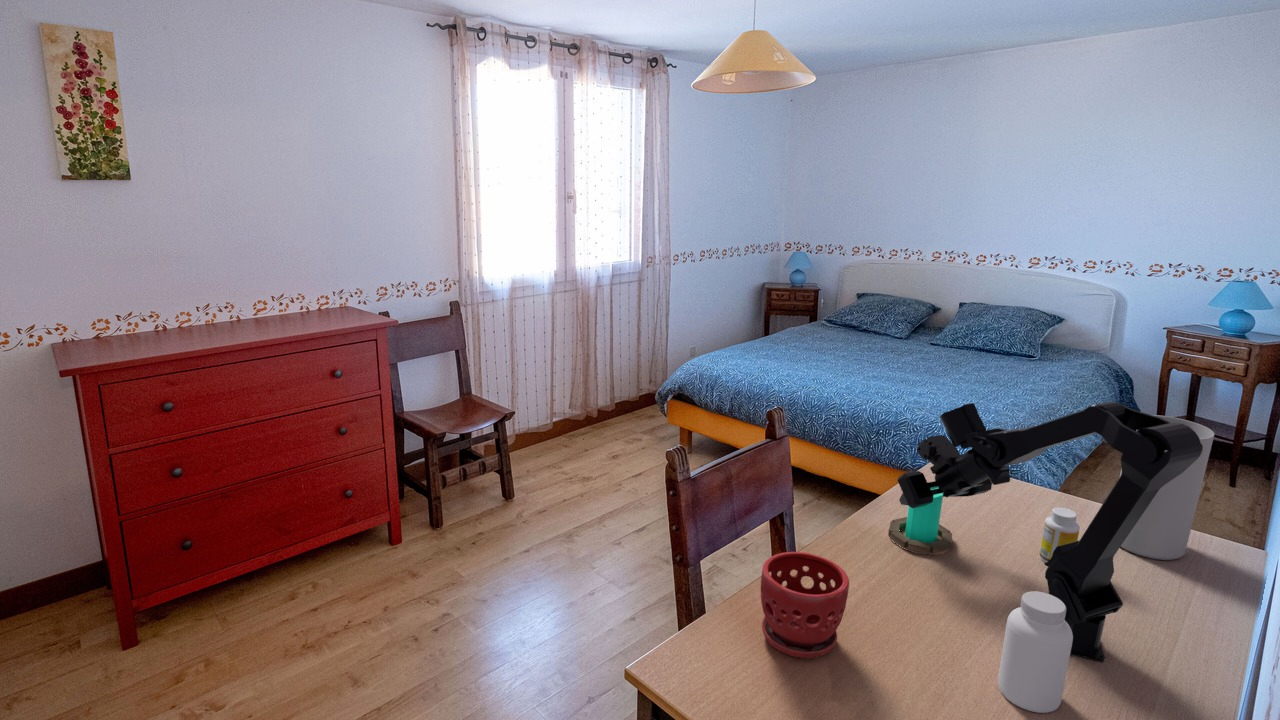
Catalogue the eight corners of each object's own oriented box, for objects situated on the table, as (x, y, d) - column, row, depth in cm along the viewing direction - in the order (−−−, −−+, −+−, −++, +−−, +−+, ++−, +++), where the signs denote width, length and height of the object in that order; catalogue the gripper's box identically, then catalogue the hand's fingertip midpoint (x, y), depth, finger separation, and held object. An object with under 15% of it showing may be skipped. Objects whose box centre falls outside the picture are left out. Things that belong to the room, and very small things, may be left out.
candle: (901, 539, 138) (907, 484, 135) (909, 526, 143) (915, 473, 139) (932, 548, 135) (940, 492, 131) (940, 535, 139) (947, 481, 136)
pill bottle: (1003, 666, 104) (1018, 578, 100) (1064, 691, 99) (1083, 600, 95) (989, 696, 98) (1005, 604, 94) (1054, 724, 93) (1074, 628, 89)
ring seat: (951, 560, 131) (953, 553, 131) (885, 546, 136) (886, 539, 136) (952, 531, 142) (953, 524, 142) (890, 519, 147) (891, 512, 146)
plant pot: (840, 675, 102) (847, 604, 99) (751, 655, 106) (755, 586, 103) (845, 621, 114) (851, 557, 110) (764, 605, 118) (768, 542, 115)
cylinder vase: (1188, 568, 129) (1219, 444, 122) (1108, 549, 135) (1133, 430, 128) (1180, 539, 139) (1208, 422, 132) (1106, 522, 146) (1129, 410, 139)
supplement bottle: (1077, 562, 131) (1087, 513, 128) (1065, 572, 128) (1075, 522, 125) (1045, 549, 135) (1054, 502, 132) (1033, 559, 132) (1042, 511, 129)
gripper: (988, 422, 132) (937, 454, 145) (910, 435, 125) (864, 467, 138) (1017, 476, 127) (962, 504, 140) (937, 493, 120) (887, 521, 133)
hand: (919, 498), depth 138 cm, fingers open, 9 cm apart
